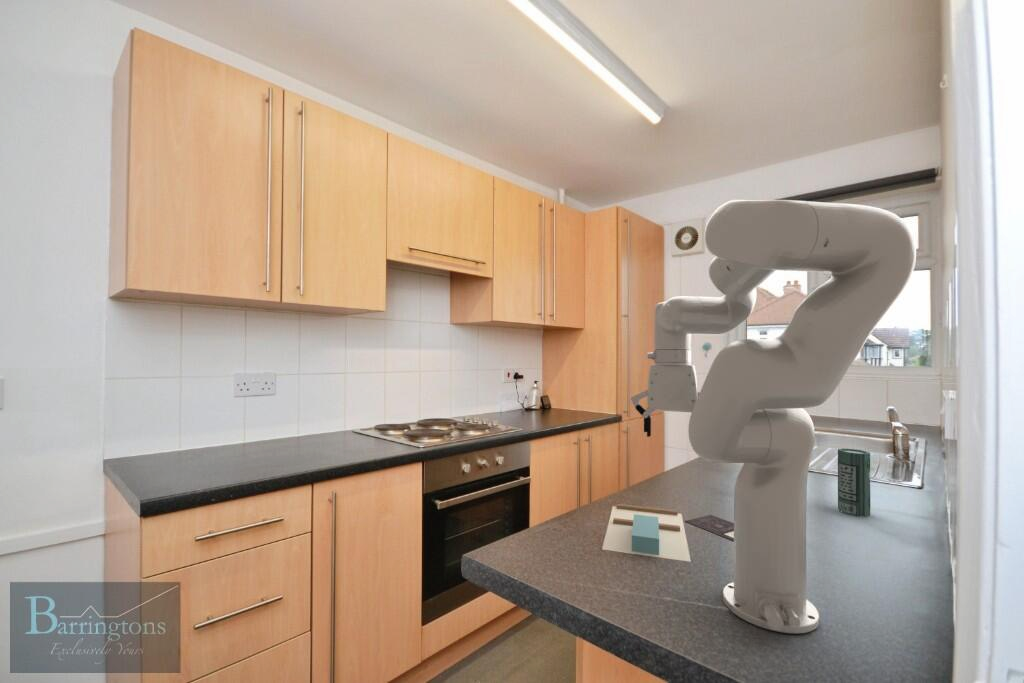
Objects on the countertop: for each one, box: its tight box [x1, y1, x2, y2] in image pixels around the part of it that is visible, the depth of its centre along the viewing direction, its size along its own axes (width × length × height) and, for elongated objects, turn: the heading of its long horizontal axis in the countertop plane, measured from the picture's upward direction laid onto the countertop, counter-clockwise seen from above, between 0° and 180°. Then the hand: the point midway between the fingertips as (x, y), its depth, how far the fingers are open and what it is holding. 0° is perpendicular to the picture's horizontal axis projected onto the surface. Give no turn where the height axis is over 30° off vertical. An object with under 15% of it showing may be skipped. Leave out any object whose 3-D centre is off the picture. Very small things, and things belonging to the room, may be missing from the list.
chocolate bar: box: [684, 514, 734, 542], centre depth 97 cm, size 9×1×18 cm
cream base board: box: [601, 503, 692, 563], centre depth 97 cm, size 26×16×1 cm, turn 163°
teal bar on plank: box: [632, 514, 659, 555], centre depth 91 cm, size 12×5×3 cm, turn 163°
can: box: [837, 448, 871, 518], centre depth 112 cm, size 6×6×15 cm
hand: (672, 437), depth 98 cm, fingers open, 9 cm apart
